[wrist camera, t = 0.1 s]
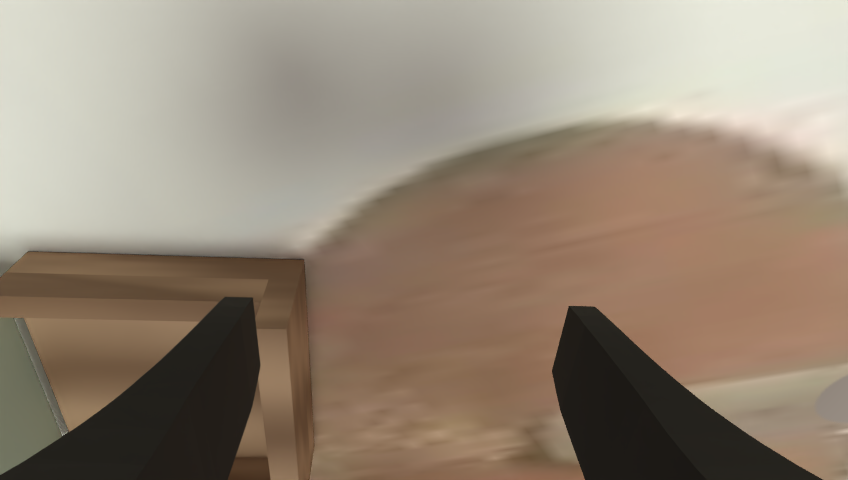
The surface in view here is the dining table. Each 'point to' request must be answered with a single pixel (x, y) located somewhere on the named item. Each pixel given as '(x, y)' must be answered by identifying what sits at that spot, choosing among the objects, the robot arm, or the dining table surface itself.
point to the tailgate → (21, 402)
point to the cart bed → (168, 337)
